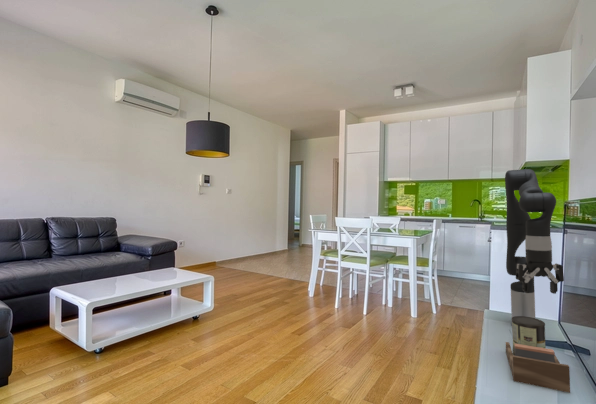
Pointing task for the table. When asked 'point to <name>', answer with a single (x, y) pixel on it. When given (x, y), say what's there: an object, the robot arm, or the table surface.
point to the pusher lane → (539, 372)
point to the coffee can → (528, 331)
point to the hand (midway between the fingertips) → (539, 292)
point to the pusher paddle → (534, 352)
